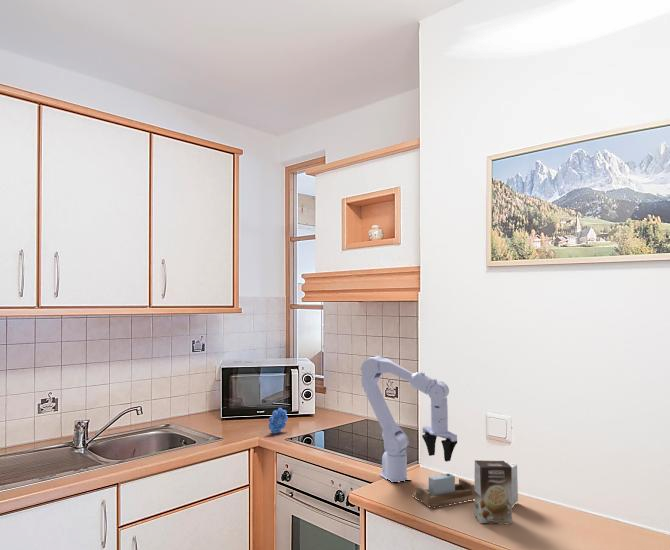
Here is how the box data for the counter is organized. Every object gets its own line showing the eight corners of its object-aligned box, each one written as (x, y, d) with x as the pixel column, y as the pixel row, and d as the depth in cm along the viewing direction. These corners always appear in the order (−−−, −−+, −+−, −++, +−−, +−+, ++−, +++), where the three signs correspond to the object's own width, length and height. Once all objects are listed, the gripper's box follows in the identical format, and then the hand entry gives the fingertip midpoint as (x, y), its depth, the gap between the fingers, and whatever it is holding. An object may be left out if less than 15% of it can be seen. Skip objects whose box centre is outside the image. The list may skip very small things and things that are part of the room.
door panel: (428, 496, 163) (428, 475, 164) (449, 492, 167) (449, 472, 167) (434, 499, 161) (434, 478, 161) (455, 495, 164) (454, 474, 164)
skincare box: (505, 500, 163) (504, 461, 164) (518, 503, 160) (517, 464, 161) (497, 505, 158) (497, 466, 159) (511, 509, 155) (510, 469, 156)
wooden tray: (412, 496, 166) (412, 483, 166) (457, 488, 173) (457, 476, 173) (431, 509, 155) (431, 495, 156) (478, 500, 163) (478, 487, 163)
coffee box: (480, 524, 145) (480, 467, 145) (474, 515, 151) (473, 460, 152) (512, 524, 145) (512, 466, 146) (504, 515, 151) (503, 459, 152)
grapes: (281, 429, 253) (281, 405, 254) (290, 432, 248) (290, 407, 249) (262, 433, 245) (263, 408, 245) (271, 436, 240) (272, 410, 241)
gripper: (416, 415, 180) (416, 454, 180) (446, 423, 168) (446, 465, 168) (430, 413, 184) (431, 451, 183) (461, 420, 172) (461, 461, 171)
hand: (439, 458), depth 176 cm, fingers open, 7 cm apart
